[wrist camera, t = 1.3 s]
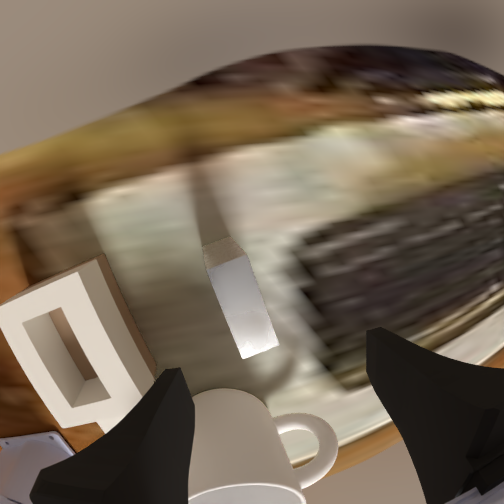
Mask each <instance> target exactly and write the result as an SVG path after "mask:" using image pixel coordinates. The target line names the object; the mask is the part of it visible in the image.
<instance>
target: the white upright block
mask: <svg viewBox="0 0 504 504" xmlns="http://www.w3.org/2000/svg"><path fill="white" fill-rule="evenodd" d="M202 248H203V254H204V260H205V266H206V271H207V273H208V276H209V279H210V281H211V284H212V286H213V289H214V291H215V294H216V296H217V299H218V301H219V304H220V306H221V309H222V311H223V313H224V316H225V318H226V321H227V323H228V326H229V328H230V330H231V333H232V335H233V338H234V340H235V342H236V345H237V347H238V349H239V352H240V354H241V356H242V359H245V358H247V357H250V356H252V355H255V354H258V353H260V352H263V351H265V350H268V349H270V348H273V347H275V346H278V345H279V342H278V340H277V337H276V334H275V331H274V328H273V326H272V323H271V320H270V317H269V315H268V312H267V309H266V306H265V303H264V301H263V298H262V295H261V292H260V289H259V287H258V284H257V281H256V278H255V275H254V272H253V270H252V267H251V264H250V261H249V258H248V256H247V254H246V253H245V252H244V250H243V249H242V248H241V247H240V246H239V245H238V244H237V243H236V242H235V241H234V239H233V238H232V237H231V236H229V237H226V238H224V239H221V240H218V241H216V242H213V243H210V244H208V245H205V246H202Z"/></svg>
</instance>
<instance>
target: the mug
mask: <svg viewBox="0 0 504 504" xmlns="http://www.w3.org/2000/svg"><path fill="white" fill-rule="evenodd" d="M192 400H193V402H194V404H195V432H194V439H193V447H192V454H191V461H190V468H189V478H188V504H306V499H305V496H304V494H303V492H302V489H303V488H305V487H308V486H310V485H311V484H313V483H315V482H316V481H318V480H319V479H321V478H322V477H323V476H324V475H325V474H326V473H327V472H328V471H329V470H330V469H331V467H332V466H333V464H334V462H335V460H336V457H337V452H338V440H337V437H336V434H335V432H334V430H333V429H332V428H331V426H330V425H329V424H328V423H327V422H326V421H324V420H323V419H321V418H319V417H317V416H314V415H312V414H307V413H291V414H285V415H281V416H277V417H274V418H272V416H271V414H270V412H269V410H268V409H267V407H266V406H265V405H264V404H263V403H262V401H260V400H259V399H258V398H257V397H255V396H253V395H251V394H249V393H247V392H244V391H241V390H236V389H228V388H220V389H212V390H208V391H204V392H201V393H199V394H197V395H195V396H193V397H192ZM294 429H305V430H308V431H310V432H312V433H313V434H314V435H315V436H316V437H317V439H318V441H319V451H318V453H317V455H316V456H315V458H314V459H313V460H312V461H310V462H309V463H307V464H305V465H304V466H301V467H299V468H296V469H293V468H292V465H291V463H290V460H289V458H288V456H287V453H286V451H285V448H284V446H283V443H282V441H281V438H280V436H279V434H281V433H283V432H286V431H290V430H294Z"/></svg>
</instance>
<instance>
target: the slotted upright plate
mask: <svg viewBox="0 0 504 504" xmlns="http://www.w3.org/2000/svg"><path fill="white" fill-rule="evenodd" d="M0 328H1V330H2V332H3V334H4V336H5V338H6V340H7V341H8V343H9V345H10V347H11V349H12V351H13V353H14V354H15V356H16V358H17V360H18V362H19V363H20V365H21V367H22V369H23V370H24V372H25V374H26V375H27V377H28V379H29V380H30V382H31V383H32V385H33V387H34V388H35V390H36V391H37V393H38V394H39V396H40V397H41V399H42V400H43V402H44V403H45V405H46V406H47V408H48V409H49V410H50V412H51V413H52V415H53V416H54V417H55V419H56V420H57V422H58V423H59V424H60V426H61V427H62V428H67V427H73V426H78V425H82V424H87V423H92V422H97V423H98V424H99V426H100V427H101V428H102V430H103V431H104V432H105V434H106V433H107V432H108V431H110V430H111V429H112V428H113V427H114V426H115V425H117V424H118V423H119V422H120V421H121V420H122V419H123V418H124V417H125V416H126V415H127V414H128V413H129V412H130V411H131V410H132V408H133V407H134V406H135V405H136V404H137V403H138V402H139V401H140V400H141V399H142V397H143V396H144V395H145V394H146V393H147V391H148V390H149V389H150V388H151V386H152V385H153V383H154V377H155V371H156V363H155V361H154V359H153V357H152V355H151V353H150V351H149V350H148V348H147V346H146V344H145V342H144V340H143V338H142V336H141V334H140V332H139V330H138V328H137V326H136V324H135V322H134V320H133V317H132V315H131V313H130V311H129V309H128V307H127V305H126V303H125V300H124V298H123V296H122V294H121V291H120V289H119V287H118V285H117V282H116V280H115V278H114V275H113V273H112V271H111V268H110V266H109V263H108V261H107V259H106V256H105V254H101V255H99V256H97V257H94V258H92V259H90V260H87V261H85V262H83V263H80V264H78V265H76V266H73V267H71V268H69V269H67V270H64V271H62V272H60V273H58V274H55V275H53V276H51V277H49V278H46V279H44V280H42V281H40V282H38V283H36V284H33V285H31V286H29V287H27V288H26V289H24V290H23V291H21V292H19V293H18V294H16V295H15V296H13V297H12V298H10V299H8V300H7V301H5V302H4V303H2V304H1V305H0Z"/></svg>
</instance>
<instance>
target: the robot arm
mask: <svg viewBox="0 0 504 504" xmlns="http://www.w3.org/2000/svg"><path fill="white" fill-rule="evenodd" d="M366 372H367V374H368V377H369V379H370V382H371V384H372V386H373V388H374V391H375V392H376V394H377V396H378V397H379V399H380V401H381V402H382V404H383V406H384V407H385V409H386V411H387V412H388V414H389V415H390V417H391V419H392V420H393V422H394V424H395V425H396V427H397V428H398V430H399V432H400V434H401V436H402V438H403V440H404V442H405V444H406V447H407V449H408V451H409V454H410V456H411V459H412V461H413V464H414V466H415V469H416V471H417V474H418V477H419V480H420V483H421V486H422V489H423V492H424V496H425V499H426V503H427V504H504V369H502V368H491V367H484V366H479V365H473V364H469V363H464V362H461V361H457V360H454V359H451V358H448V357H445V356H442V355H439V354H437V353H434V352H432V351H429V350H427V349H425V348H422V347H420V346H418V345H416V344H414V343H412V342H410V341H408V340H406V339H404V338H402V337H400V336H398V335H396V334H394V333H392V332H390V331H388V330H386V329H384V328H382V327H378V328H375V329H371V330H368V331H366ZM194 432H195V404H194V402H193V400H192V397H191V394H190V392H189V389H188V387H187V384H186V382H185V379H184V376H183V374H182V371H181V368H173V369H165V371H164V372H163V373H162V374H161V375H160V376H159V378H158V379H157V380H156V381H155V383H154V384H153V385H152V386H151V388H150V389H149V390H148V391H147V393H146V394H145V395H144V396H143V397H142V399H141V400H140V401H139V402H138V403H137V404H136V405H135V406H134V407H133V408H132V410H131V411H130V412H129V413H128V414H127V415H126V416H125V417H124V418H123V419H122V420H121V421H120V422H119V423H118V424H117V425H115V426H114V427H113V428H112V429H111V430H110V431H108V432H107V433H106V434H105V435H103V436H102V437H101V438H99V439H98V440H96V441H95V442H94V443H92V444H91V445H89V446H88V447H86V448H85V449H83V450H81V451H80V452H78V453H75V452H74V451H73V450H72V449H71V448H70V446H69V445H68V444H67V443H66V441H65V440H64V439H63V438H62V436H61V435H60V434H59V433H58V432H56V431H51V432H45V433H39V434H32V435H25V436H18V437H10V438H1V439H0V445H1V447H2V448H3V449H2V451H1V452H0V504H188V478H189V468H190V461H191V454H192V447H193V439H194Z"/></svg>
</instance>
